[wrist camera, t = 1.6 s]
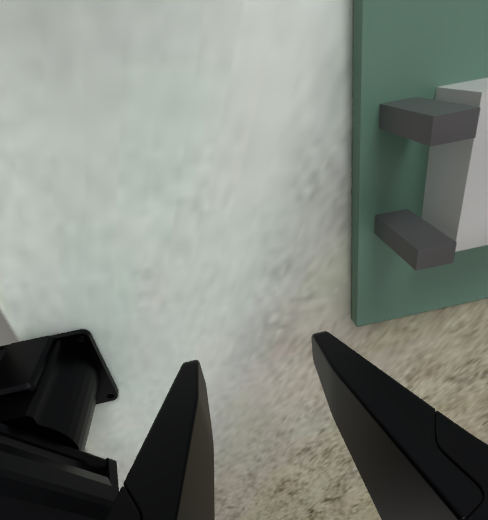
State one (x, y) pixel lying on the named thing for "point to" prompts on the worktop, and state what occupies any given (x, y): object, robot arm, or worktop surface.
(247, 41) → the worktop surface
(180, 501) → the robot arm
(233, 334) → the worktop surface
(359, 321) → the board
